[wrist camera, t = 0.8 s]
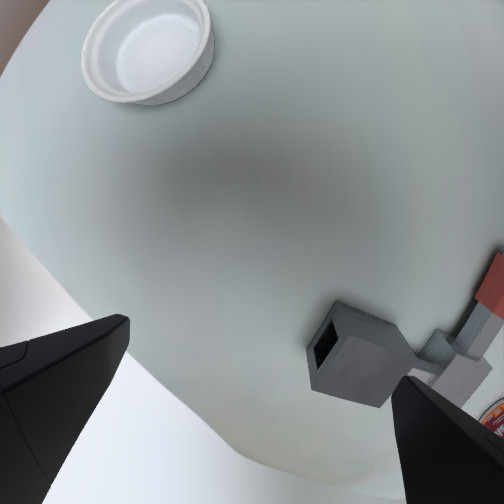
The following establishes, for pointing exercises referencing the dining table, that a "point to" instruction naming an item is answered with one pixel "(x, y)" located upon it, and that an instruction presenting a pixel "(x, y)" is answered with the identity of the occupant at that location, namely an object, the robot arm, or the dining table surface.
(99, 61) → the ramekin
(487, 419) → the pill bottle
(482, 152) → the dining table surface
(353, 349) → the socket
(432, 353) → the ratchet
